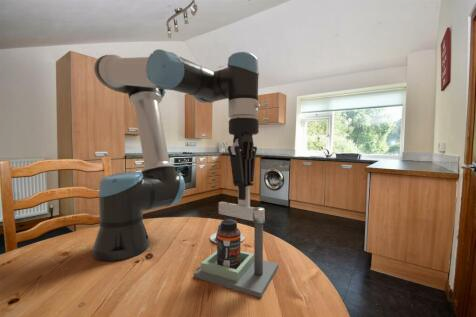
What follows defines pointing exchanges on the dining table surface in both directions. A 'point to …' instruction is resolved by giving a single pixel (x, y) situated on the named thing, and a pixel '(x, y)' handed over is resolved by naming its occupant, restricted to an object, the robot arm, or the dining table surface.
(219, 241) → the supplement bottle
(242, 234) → the pudding
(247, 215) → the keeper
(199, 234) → the dining table surface
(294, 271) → the dining table surface
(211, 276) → the socket base
